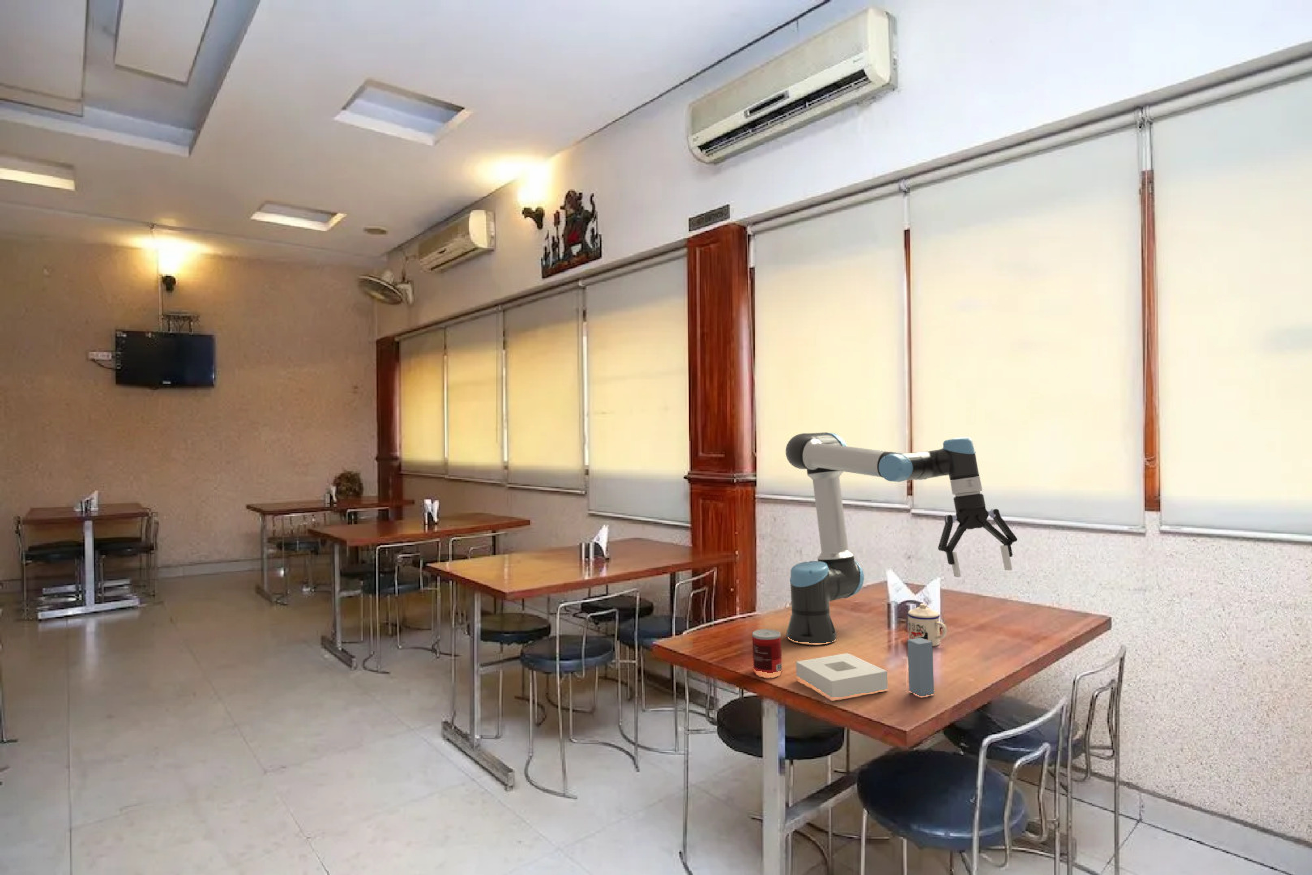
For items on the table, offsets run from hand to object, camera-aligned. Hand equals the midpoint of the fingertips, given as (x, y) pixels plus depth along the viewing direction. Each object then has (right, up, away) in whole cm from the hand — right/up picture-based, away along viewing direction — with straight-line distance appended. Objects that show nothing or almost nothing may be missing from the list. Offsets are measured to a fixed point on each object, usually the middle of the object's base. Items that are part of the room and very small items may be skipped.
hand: (983, 573), depth 184 cm
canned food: (-57, -28, +2) cm, 63 cm away
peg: (-23, -26, -17) cm, 38 cm away
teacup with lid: (-5, -26, +23) cm, 35 cm away
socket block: (-40, -27, -9) cm, 49 cm away
